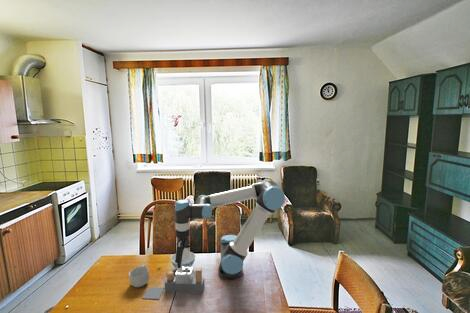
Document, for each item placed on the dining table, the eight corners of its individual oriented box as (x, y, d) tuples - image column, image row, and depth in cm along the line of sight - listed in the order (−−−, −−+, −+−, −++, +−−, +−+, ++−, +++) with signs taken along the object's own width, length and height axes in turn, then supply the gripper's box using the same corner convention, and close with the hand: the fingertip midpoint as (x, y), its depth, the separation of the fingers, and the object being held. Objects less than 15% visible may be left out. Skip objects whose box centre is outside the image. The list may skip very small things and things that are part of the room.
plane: (204, 286, 145) (203, 266, 143) (202, 292, 140) (201, 272, 138) (168, 284, 147) (167, 265, 145) (164, 291, 141) (163, 270, 139)
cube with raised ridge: (193, 277, 145) (192, 265, 144) (190, 284, 139) (189, 272, 138) (179, 276, 146) (178, 265, 145) (175, 283, 139) (175, 271, 138)
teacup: (143, 291, 141) (142, 277, 140) (125, 288, 143) (124, 275, 142) (155, 276, 155) (155, 263, 154) (139, 274, 157) (138, 261, 156)
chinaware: (198, 263, 168) (198, 252, 167) (190, 276, 154) (190, 265, 153) (177, 261, 171) (176, 250, 170) (167, 274, 156) (166, 262, 155)
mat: (164, 288, 143) (164, 287, 143) (158, 299, 135) (158, 298, 135) (148, 287, 144) (148, 287, 144) (141, 298, 135) (141, 298, 135)
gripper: (182, 219, 151) (182, 253, 154) (168, 239, 126) (169, 278, 129) (194, 219, 150) (195, 253, 153) (183, 239, 125) (184, 279, 128)
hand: (183, 265), depth 141 cm, fingers open, 13 cm apart
